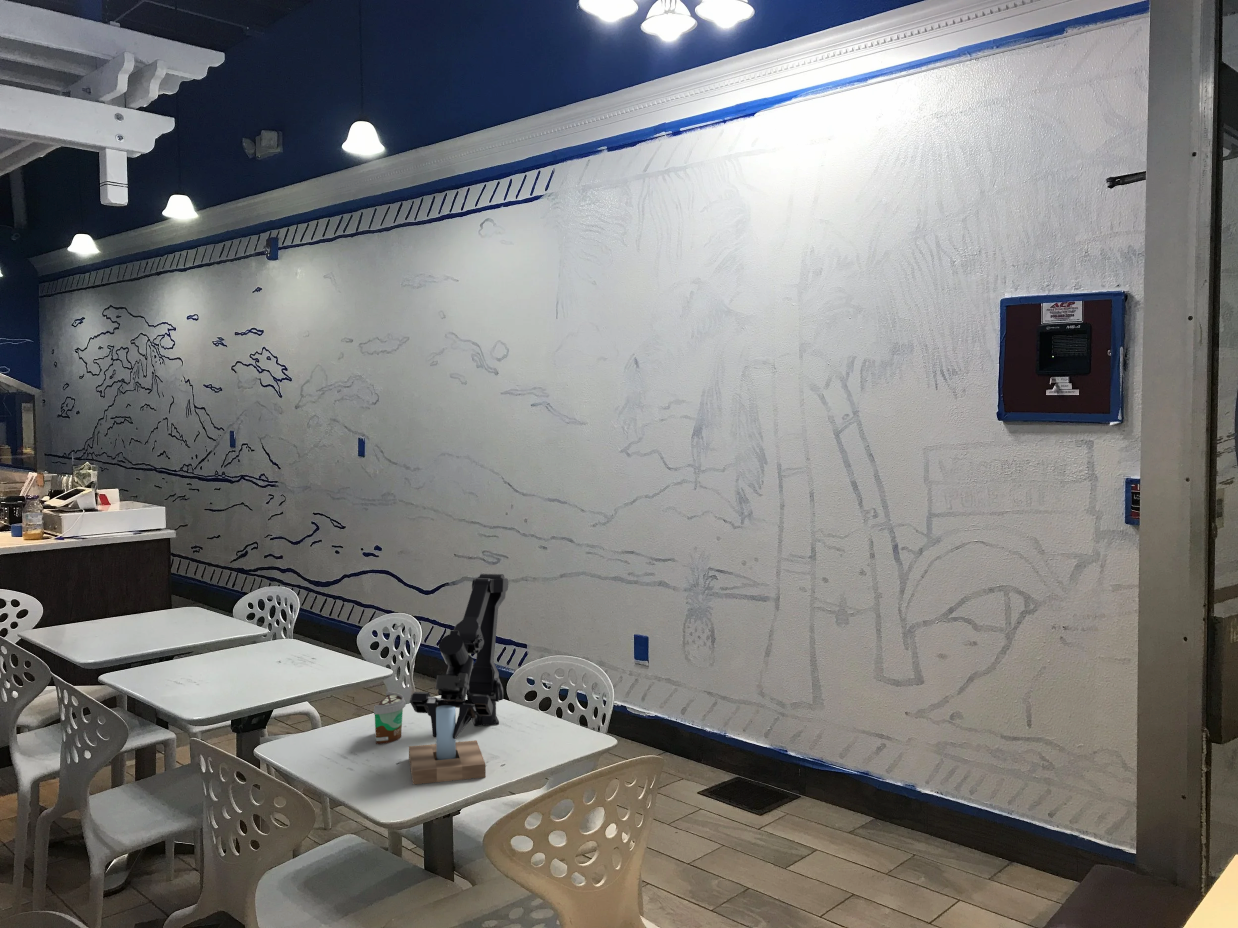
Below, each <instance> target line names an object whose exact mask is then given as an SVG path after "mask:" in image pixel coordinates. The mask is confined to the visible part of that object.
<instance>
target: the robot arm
mask: <svg viewBox="0 0 1238 928" xmlns="http://www.w3.org/2000/svg"><path fill="white" fill-rule="evenodd" d="M508 589H509V580H508V578H507V577H505V575H504V574H502V573H480V575H479V576H478V577H473V578H472V582H471V592H470V596H469V599H468V603H467V605H466V609H465V611H464V615H463V618H462V620H461V621H460V622H458V623H456V624H455V626H454V629H453V630H450V632H449V634H447V635H445V636H443V638H441V640H440V641H439V643H438V648H439V651H440V653H441V656H442V658H443V660H444V662H445V664H446V665H447V670H446V673H444V675H442V674H441V675H440V674H438V675H436V683H435V690H437V694H438V696H440V697H435V696H431V694H430V692H428V691H414V692H413V693H412V694H411V695H410V699H409V703H410V705H411V706H412V707H411V708H412V709H413V711H414V712H415V713H418V714H427V715H428V716H429V717H430V723H431V730H432V731H431V733H432V736H433V737H432V738H433V739H436V708H437V707H439V706H444V705H451V706H454V707H455V709H456V708H459V710H458V715H457V719H456V726H455V729H454V734H453V738H454V739H456V740H457V738H458V736H459V735H460V734H461V733H462V731H463V729H465V727H466V726H467V725H468V724H469V723H471V721H472V723H473V725H474V727H476V726H477V727H479V726H481V727H482V726H491V725H499V724H500V720H499V718H498V716H497V702H498V703H499V701H504V687H503V684H502V683H501V679H500V677H499V676H500V675H499V674H500V672H499V671H498V669H497V666H496V664H495V652H496V651H495V650H496V640H497V639H496V638H497V627H498V617H499V615H498V614H499V607H500V606H501V604H502V603H503V602H504V600H505V599H506V595H507V594H506V593H507V591H508ZM470 654H471V655H472V654H473V655H475V654H476V659H475V662H474V659H473V657H472V656H471V655H470Z"/></svg>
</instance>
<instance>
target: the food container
mask: <svg viewBox="0 0 1238 928" xmlns="http://www.w3.org/2000/svg"><path fill="white" fill-rule="evenodd" d="M385 694H386V695H385V697H384V698H382V699H381V700H380V702H379V704H377V705H374V707H373V715H374V726H375V727H374V728H375V729H374V731H375V733H374V734H375V744H376V745H382V744H383V745H384V744H385V745H386V744H389V743H390V744H391V743H393V742H396V741H398V740H400V739H401V738H402V727H403V712H404V709H405V707H406V701H405V698H404V696H403V694H401V693H398V692H393V691H386V693H385Z"/></svg>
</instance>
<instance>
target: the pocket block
mask: <svg viewBox="0 0 1238 928" xmlns="http://www.w3.org/2000/svg"><path fill="white" fill-rule="evenodd" d="M408 760H409V761H408V762H409V767H410V774H411V780H412V785H422V783H423V784H432V783H441V782H451V781H452V780H453V781H460V780H462V781H463V780H471V778H473V779H479V778H480V779H481V778H486V776H487V775H486V765H487V764H486V762H485V760H484V756H483V753H482V751H481V748H480V745H479V743H478V740H476V739H475V740H465V741H463V740H462V741H456V759H446V760H437V757H436V743H433V744H431V743H430V744H420V745H411V746H408ZM453 781H452V782H453Z"/></svg>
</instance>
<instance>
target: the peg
mask: <svg viewBox="0 0 1238 928" xmlns="http://www.w3.org/2000/svg"><path fill="white" fill-rule="evenodd" d="M456 711H457V710H456V708H455V707H454V706H451V705H444V706H439V707H437V708H436V738H435V739H436V741H435V744H436V757H437V760H446V759H456V742H457V741H456V740H457V738H456V739H454V738H453V734H454V729H455V726H456V722H457V719H456V718H457V717H456V714H457V713H456Z"/></svg>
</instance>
